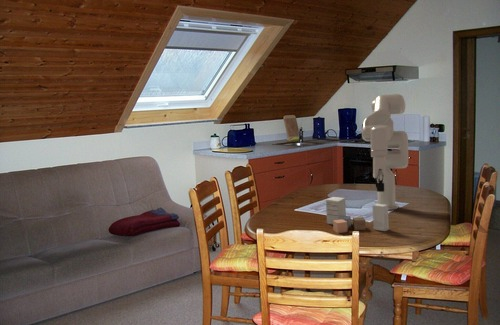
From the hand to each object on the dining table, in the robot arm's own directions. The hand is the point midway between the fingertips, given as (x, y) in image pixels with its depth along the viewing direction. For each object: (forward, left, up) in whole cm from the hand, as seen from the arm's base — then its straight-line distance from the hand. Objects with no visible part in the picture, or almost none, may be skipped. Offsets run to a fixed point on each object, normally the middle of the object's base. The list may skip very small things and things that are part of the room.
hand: (379, 189), depth 232 cm
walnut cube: (-2, -10, -20) cm, 22 cm away
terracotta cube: (+2, -19, -20) cm, 27 cm away
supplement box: (-12, -21, -20) cm, 31 cm away
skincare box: (0, 0, -20) cm, 20 cm away
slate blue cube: (-5, -17, -20) cm, 26 cm away
